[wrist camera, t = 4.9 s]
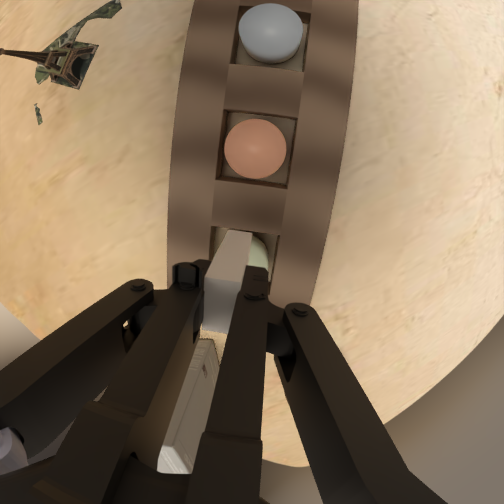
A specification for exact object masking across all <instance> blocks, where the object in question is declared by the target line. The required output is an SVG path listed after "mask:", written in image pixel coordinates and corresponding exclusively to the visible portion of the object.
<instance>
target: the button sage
mask: <svg viewBox="0 0 504 504" xmlns="http://www.w3.org/2000/svg"><path fill="white" fill-rule="evenodd" d="M221 243H222V242H221ZM220 245H221V244H220ZM219 247H220V246H219ZM218 249H219V248H218ZM217 251H218V250H217ZM216 253H217V252H216ZM215 255H216V254H215ZM214 257H215V256H214ZM213 259H214V258H213ZM212 261H213V260H212ZM268 261H269V256H268V251H267V248H266V246H265V245H264V243H263V242H262V241H261V240H260V239H259V238H257V237H256V236H254V235H252V239H251V247H250V254H249V262H248V265H250V266H257V267H265V268H266V270H267V271H268Z"/></svg>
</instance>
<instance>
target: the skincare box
mask: <svg viewBox="0 0 504 504" xmlns="http://www.w3.org/2000/svg"><path fill="white" fill-rule="evenodd" d="M218 373H219V363H218V358H217V354H216V350H215V347H214V343H213V341H212V340H208V339H199V340H198V343H197V346H196V349H195V351H194V354H193V357H192V360H191V363H190V366H189V368H188V371H187V374H186V377H185V380H184V383H183V386H182V389H181V392H180V395H179V397H178V400H177V403H176V406H175V409H174V412H173V415H172V418H171V421H170V424H169V427H168V430H167V433H166V436H165V439H164V442H163V445H162V448H161V451H160V454H159V458H158V467H157V471H158V472H161V473H173V474H192V470H193V466H194V462H195V458H196V454H197V450H198V445H199V441H200V438H201V435H202V432H204V431H205V427H206V423H207V419H208V415H209V411H210V406H211V402H212V398H213V394H214V390H215V385H216V381H217V377H218Z"/></svg>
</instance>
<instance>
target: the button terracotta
mask: <svg viewBox="0 0 504 504" xmlns="http://www.w3.org/2000/svg"><path fill="white" fill-rule="evenodd" d="M224 151H225V157H226V159H227V162H228V164H229V165H230V167H231V168H232V169H233V170H234V171H235V172H237V173H238V174H240V175H242V176H244V177H247V178H252V179H259V178H264V177H267V176H269V175H271V174H273V173H274V172H276V171H277V170H278V169H279V168H280V166H281V165H282V163H283V161H284V159H285V156H286V142H285V139H284V136H283V134H282V133H281V131H280V130H279V129H278V128H277V127H276V126H275V125H274V124H272V123H270V122H268V121H266V120H262V119H248V120H245V121H242V122H240V123H238V124H237V125H236V126H234V127H233V128H232V130H231V131H230V132H229V134H228V136H227V138H226V141H225V146H224Z"/></svg>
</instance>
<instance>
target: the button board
mask: <svg viewBox="0 0 504 504" xmlns="http://www.w3.org/2000/svg"><path fill="white" fill-rule="evenodd" d="M267 3H273V4H279V5H283V6H286V7H288V8H290V9H291V10H293V11H294V12H295V13H296V14H297V15H298V16H299V18H300V19H301V22H303V23H308V28H307V37H306V45H305V54H304V62H303V70H302V72H299V71H293V70H287V69H280V68H272V67H263V66H253V65H241V64H235V58H236V51H237V45H238V39H239V22H240V20H241V18H242V16H243V15H244V14H245V13H246V12H247V11H248V10H249V9H251V8H253V7H255V6H257V5H261V4H267ZM358 3H359V0H195V1H194V5H193V10H192V14H191V19H190V24H189V28H188V34H187V39H186V44H185V50H184V55H183V61H182V68H181V74H180V81H179V88H178V95H177V103H176V111H175V120H174V129H173V140H172V151H171V164H170V179H169V197H168V225H167V289H169V287H170V286H171V284H172V266H173V265H174V264H177V263H180V262H192V263H193V262H194V261H196V260H198V259H204V260H211V261H212V260H213V253H214V240H215V228H216V226H218V227H225V228H232V229H240V230H247V231H254V232H261V233H268V234H275V235H278V239H277V245H276V251H275V257H274V263H273V269H272V275H271V280H270V282H268V298H269V301H270V302H271V303H272V304H274V305H276V306H278V307H280V308H285V307H286V305H287V304H290V303H295V302H297V303H305V304H307V305H309V306H310V302H311V299H312V295H313V291H314V287H315V283H316V279H317V275H318V271H319V267H320V263H321V259H322V254H323V250H324V246H325V241H326V237H327V232H328V228H329V223H330V218H331V214H332V209H333V204H334V199H335V193H336V188H337V183H338V177H339V172H340V166H341V160H342V154H343V148H344V142H345V136H346V129H347V122H348V115H349V107H350V99H351V91H352V83H353V73H354V63H355V52H356V39H357V24H358ZM228 112H238V113H248V114H257V115H265V116H273V117H280V118H287V119H293V120H296V122H295V129H294V136H293V143H292V150H291V157H290V164H289V170H288V177H287V183H286V185H284V184H278V183H271V182H264V181H257V180H249V179H241V178H233V177H225V176H221V166H222V157H223V148H224V139H225V131H226V123H227V115H228Z"/></svg>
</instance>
